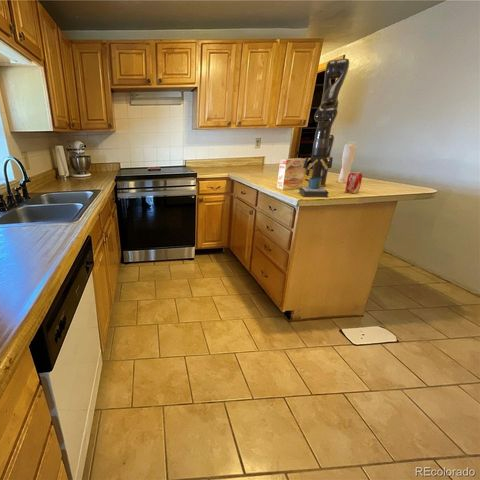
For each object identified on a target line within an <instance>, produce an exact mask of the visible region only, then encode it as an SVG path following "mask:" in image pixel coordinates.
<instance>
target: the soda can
mask: <svg viewBox="0 0 480 480" xmlns="http://www.w3.org/2000/svg"><path fill="white" fill-rule="evenodd" d="M362 173H363V172H362V171H350V174H349V175H348V179H347V183H345V189H344V190H345V192H346V193H347V194H357V193H359V192H360V189H361V185H362V181H363V174H362Z"/></svg>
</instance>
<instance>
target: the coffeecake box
mask: <svg viewBox="0 0 480 480" xmlns="http://www.w3.org/2000/svg"><path fill="white" fill-rule="evenodd" d="M305 158H306V157H304V158H303V157H296V158H295V157H294V158H280V159H279V167H278V176H277V183H276V189H278V190H281V191H288V190H298V189H300V188H303V184H304V179H305V173H306V169H305V168H303V166H304V161H305Z"/></svg>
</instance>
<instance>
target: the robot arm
mask: <svg viewBox="0 0 480 480" xmlns="http://www.w3.org/2000/svg"><path fill="white" fill-rule="evenodd" d="M349 68H350V59H349V58H339V59H332V60H329V61H328V62H327V63H326V67H325V71H324V80H323V81H324V82H323V91H322V97H321V102H320V105H319V106H318V108H317V110H316V111H315V113H314V117H313V118H314V121H315V122H316V123H317V128H316V129H315V134H314V139H313V140H314V141H313V145H312V151H311V156H310V157H304V158H305V161H304V166H303V168H305V175H306V176H307V177H309V176H310V172H311V168H312V172H311V176H310V178H313V177H316V178H322V179H321V185H320V187H326V185H327V184H326V183H327V178H328V172H329V169H331V168H332V167H333V156H331V154H332V151H333V146H334V142H335V136H334V134H331V131H332V127H333V125H334V123H335V121H336V118H337V116H338V113H339V111H338V109H339V94H340V91H341V89H342V87H343V84H344V83H345V79H346V78H347V75H348V72H349ZM334 79H335V81H334V82H333V83H332V81H331V80H334ZM309 162H310V163H309ZM308 163H309V164H308ZM304 180H305V181H308V182H309V178H304Z"/></svg>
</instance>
